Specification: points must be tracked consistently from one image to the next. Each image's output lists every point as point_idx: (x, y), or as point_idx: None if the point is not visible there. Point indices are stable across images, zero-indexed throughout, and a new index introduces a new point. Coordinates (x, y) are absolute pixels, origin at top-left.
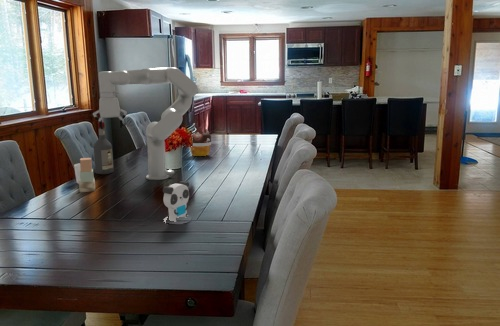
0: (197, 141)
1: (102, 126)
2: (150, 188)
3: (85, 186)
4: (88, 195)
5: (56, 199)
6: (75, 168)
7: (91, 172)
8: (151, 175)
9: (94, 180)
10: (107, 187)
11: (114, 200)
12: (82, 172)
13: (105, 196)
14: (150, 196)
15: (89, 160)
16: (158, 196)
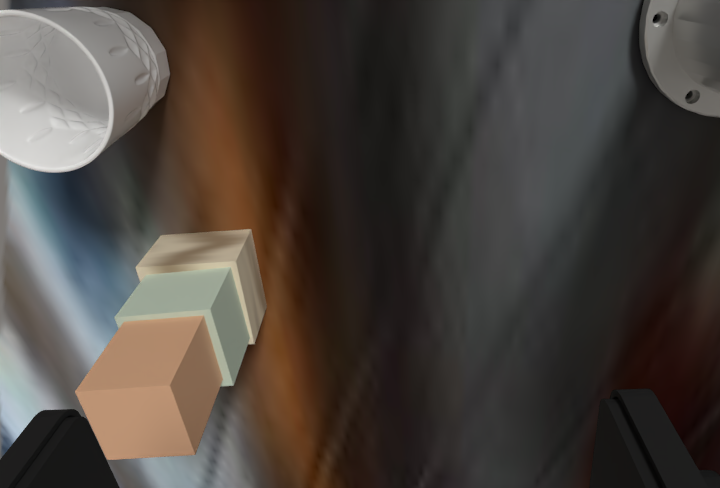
0: None
1: (62, 482)
2: (604, 317)
3: None
4: (253, 379)
5: None
6: (5, 134)
7: (225, 382)
8: (694, 75)
9: (243, 282)
10: (332, 243)
11: (397, 470)
12: None
13: (346, 410)
14: (572, 449)
15: (185, 449)
16: None
